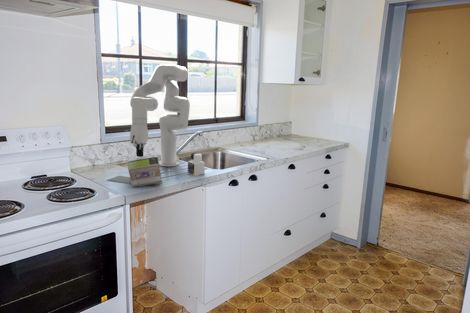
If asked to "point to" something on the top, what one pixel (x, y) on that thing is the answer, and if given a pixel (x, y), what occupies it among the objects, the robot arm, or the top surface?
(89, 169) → the top surface
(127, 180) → the rubber mat
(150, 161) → the tea box
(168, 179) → the top surface
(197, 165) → the medicine bottle
